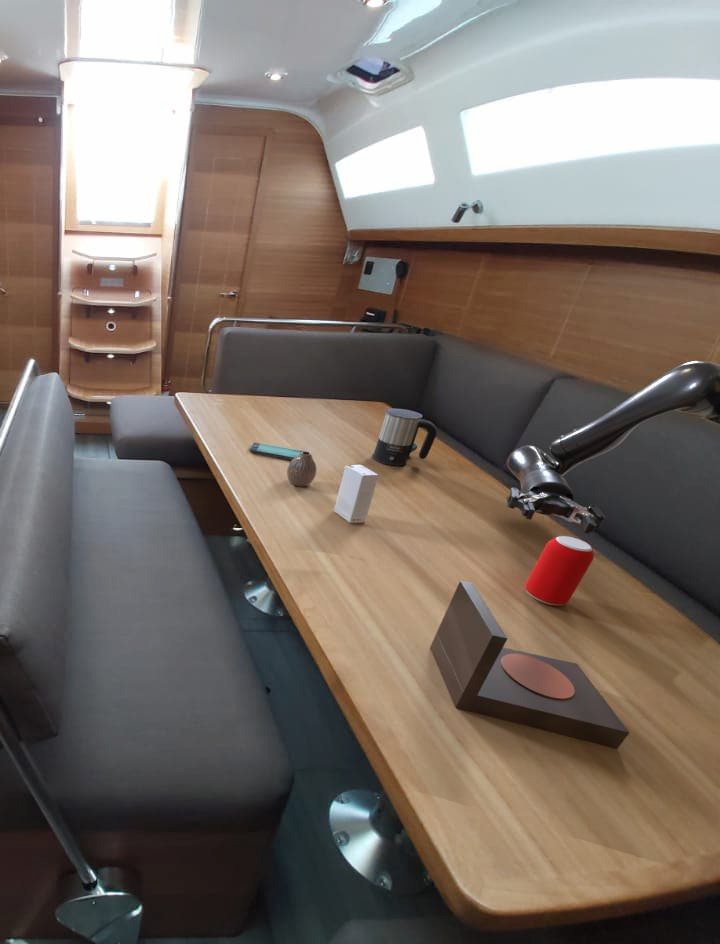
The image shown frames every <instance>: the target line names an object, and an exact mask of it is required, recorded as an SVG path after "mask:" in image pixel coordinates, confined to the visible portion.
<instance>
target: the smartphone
mask: <svg viewBox="0 0 720 944" xmlns="http://www.w3.org/2000/svg"><path fill="white" fill-rule="evenodd" d="M303 451H304V450H299V449H293V448H289V447H283V446H277V445H273V444H265V443H261V442H253V443H252V445H251V446H250V449H249V453H250V454H254V455H261V456H266V457H271V458H276V459H281V460H288V461H292V460H293V459H294V458H295V457H297V456H298V455H299V454H300V453H301V452H303Z"/></svg>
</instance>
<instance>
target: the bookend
mask: <svg viewBox="0 0 720 944" xmlns="http://www.w3.org/2000/svg"><path fill="white" fill-rule="evenodd" d="M507 640H508V637H507V635H506V633H505V632H504V630H503V629H502V628H501V626H500V624H499V623H498V621H497V620H496V618H495V616H494V615H493V613H492V611H491V610H490V609H489V607H488V605H487V604H486V602H485V600H484V599H483V597H482V596H481V594H480V592H479V591H478V590H477V588H476V586H475V585H474V583H473V582H468V581H463V580H459V582H458V584H457V587H456V589H455V591H454V593H453V596H452V598H451V600H450V603H449V604H448V606H447V609H446V611H445V613H444V615H443V618H442V619H441V622H440V624H439V626H438V629H437V631H436V632H435V635H434V638H433V639H432V642H431V644H430V646H429V647H430V648H429V649H430V651H431V654H432V656H433V658H434V661H435V663H436V665H437V667H438V670H439V672H440V675H441V677H442V680H443V681H444V684H445V686H446V688H447V691H448V694H449V695H450V698H451V701H452V703H453V706H454V707H455V709H459V710H463V711H467V712H472V713H475V714H479V715H484V716H487V717H492V718H495V719H499V720H503V721H507V722H511V723H514V724H518V725H524V726H526V727H531V728H535V729H539V730H542V731H547V732H551V733H555V734H559V735H563V736H566V737H570V738H575V739H579V740H581V741H587V742H591V743H595V744H597V745H602V746H607V747H610V748H615V749H619V748H620V746H621V745H622V744H623V742H624V741H625V740H626V738H627V737H628V736H629V734H630V731H629V730H628V728H627V727H626V725H624V723H623V722H622V720H621V719H620V718H619V717H618V715H617V714H616V713H615V711H614V710H613V708H612V707H611V706H610V705H609V703H608V702H607V701H606V700H605V698H604V697H603V696H602V694H601V693H600V692H599V690H598V689H597V687H596V686H595V685H594V684H593V682H592V681H591V680H590V678H589V677H588V675H587V674H586V673H585V672H584V671H583V670H582V668H581V666H580V665H579V664H578V663H576V662H571V661H567V660H562V659H557V658H553V657H549V656H545V655H539V654H534V653H530V652H525V651H522V650H516V649H511V648H507V647H504V646H505V644H506V642H508V641H507Z"/></svg>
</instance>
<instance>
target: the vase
mask: <svg viewBox="0 0 720 944" xmlns="http://www.w3.org/2000/svg"><path fill="white" fill-rule="evenodd" d="M302 451H303V452H301V453H300V454H299V455H298V456H297V457H295V458H294V459H293V460H290V462H289V464H288V466H287V470H286V476H287V480H288V481H289V482H290V484H291V485H293V486H295V487H300V488H301V487H307V486H309V485H310V484H311V483H313V481H314V480H315V478H316V475H317V464H316V462H315V460H314V458H313V456H312V452H309V451H307V450H302Z"/></svg>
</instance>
